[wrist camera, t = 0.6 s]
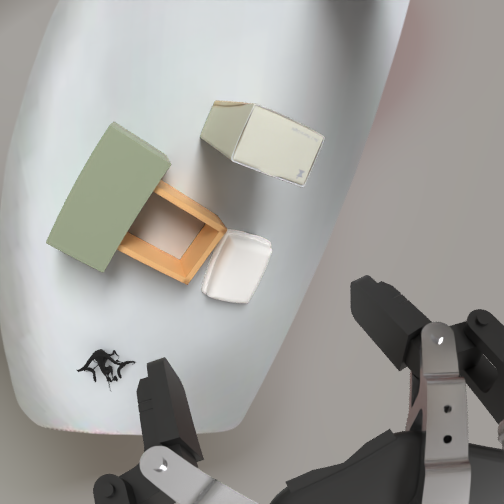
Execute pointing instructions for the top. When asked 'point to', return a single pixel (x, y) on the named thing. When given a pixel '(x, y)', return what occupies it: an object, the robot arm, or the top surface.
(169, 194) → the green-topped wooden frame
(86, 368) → the creature
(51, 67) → the top surface
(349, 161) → the top surface
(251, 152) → the skincare box
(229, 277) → the soap
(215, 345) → the top surface
